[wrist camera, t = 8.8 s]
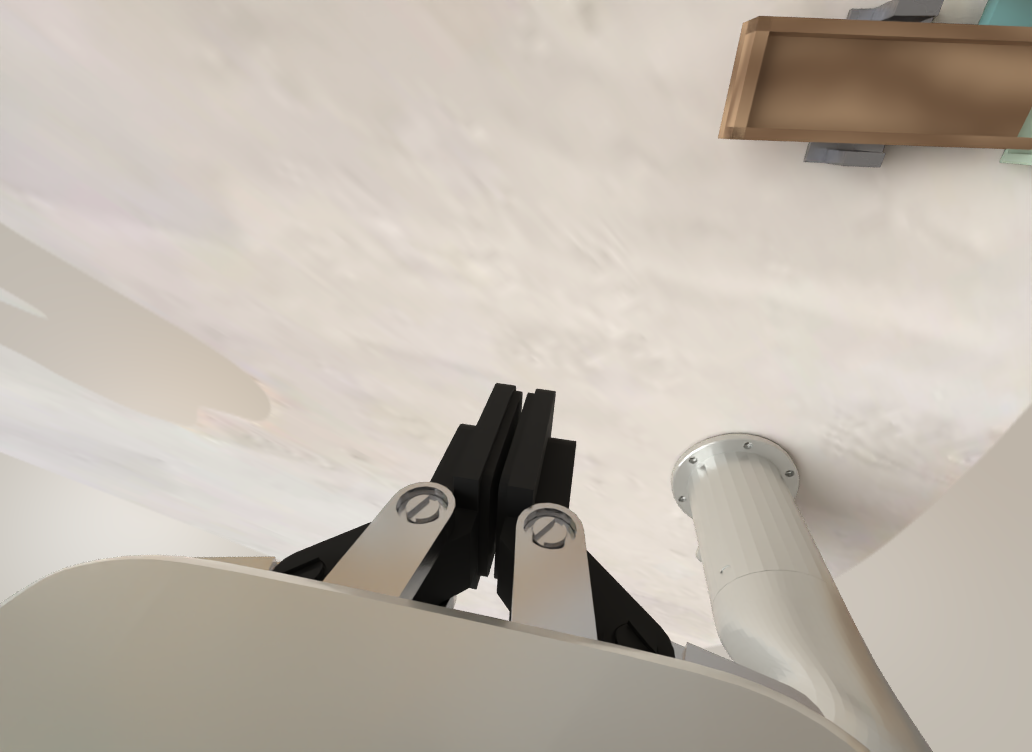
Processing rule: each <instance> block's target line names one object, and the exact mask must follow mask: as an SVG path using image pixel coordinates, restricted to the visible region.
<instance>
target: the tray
mask: <svg viewBox="0 0 1032 752" xmlns="http://www.w3.org/2000/svg"><path fill="white" fill-rule="evenodd" d="M1017 137H1027V138H1032V108H1031V110H1030V112H1029V114H1028V116H1027V118H1026V120H1025V122H1024V124H1023V126H1022V128H1021V130H1020V132H1019V134H1018V136H1017ZM1000 163H1012V164H1023V165H1032V150H1022V149H1006V150H1005V152H1004V154H1003V156H1002V158H1001V160H1000Z"/></svg>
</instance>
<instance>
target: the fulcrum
mask: <svg viewBox="0 0 1032 752" xmlns="http://www.w3.org/2000/svg"><path fill="white" fill-rule="evenodd" d="M943 1H944V0H892V1H890V2H887V3H885V4H883V5H881V6H879V7H876V8H874V9H851V10H849V13H848V17H847V19H848V20H873V21H898V22H922V23H931V22H932V19H933V17H935V16H938V14H939V12H940V9H941V6H942V4H943ZM884 146H885V145H881V144H853V143H825V142H809V144H808V148H807V151H806V154H805V158H804V161H803V162H818V163H828V164H835V165H841V166H859V167H881V164H882V161H883V159H884V156H885V153H882V152H883V149H884Z"/></svg>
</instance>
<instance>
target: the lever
mask: <svg viewBox="0 0 1032 752" xmlns="http://www.w3.org/2000/svg"><path fill="white" fill-rule="evenodd" d="M1031 108H1032V0H988V2H987V4H986V7H985V9H984V12H983V14H982V16H981V19H980V21H979V24H978V25H972V24H947V23H922V22H898V21H873V20H848V19H823V18H798V17H773V16H758V17H756V18H754V19H751V20H749V21H747V22H745V23H743V25H742V30H741V35H740V39H739V44H738V48H737V53H736V58H735V62H734V67H733V71H732V76H731V80H730V85H729V90H728V94H727V99H726V103H725V108H724V113H723V117H722V122H721V126H720V131H719V136H718V138H721V139H741V140H769V141H797V142H825V143H853V144H881V145H909V146H938V147H966V148H994V149H1022V150H1032V138H1027V137H1017V136H1018V134H1019V132H1020V130H1021V128H1022V126H1023V124H1024V122H1025V120H1026V118H1027V116H1028V114H1029V112H1030V110H1031Z"/></svg>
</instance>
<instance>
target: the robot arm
mask: <svg viewBox="0 0 1032 752" xmlns="http://www.w3.org/2000/svg"><path fill="white" fill-rule="evenodd" d="M522 395H523V394H522V392H520V391H516V386H514V385H507V384H500V383H496V384H495V386H494V388H493V391H492V393H491V395H490V397H489V399H488V401H487V404H486V406H485V408H484V410H483V412H482V414H481V417H480V419H479V421H478V423H477V425H476V426H474V425H467V424H460V426H459V427H458V429H457V431H456V433H455V435H454V437H453V439H452V440H451V442H450V444H449V446H448V448H447V450H446V452H445V454H444V456H443V458H442V460H441V462H440V464H439V466H438V467H437V469H436V471H435V473H434V475H433V477H432V479H431V481H430V482H418V483H415V484H411V485H408V486H406V487H404V488H402V489H401V490H399V491H398V492H397V493H396V494H395V495H394V496H393V497H392V498H391V500H390V501H389V502H388V503H387V504H386V506H385V507H384V508H383V509H382V510H381V512H380V513H379V514H378V515H377V516H376V518H375V519H374V520H373V521H372V522H370V523H367V524H365V525H362V526H360V527H358V528H355V529H353V530H350V531H348V532H345V533H343V534H340V535H338V536H335V537H333V538H330V539H328V540H325V541H323V542H321V543H318V544H316V545H313V546H311V547H308V548H306V549H303V550H301V551H298V552H296V553H294V554H292V555H290V556H288V557H287V558H285V559H284V560H283V561H281V562H276V558H275V557H197V558H196V557H194V558H193V557H192V558H191V557H184V556H168V555H134V556H121V557H113V558H106V559H98V560H94V561H89V562H84V563H80V564H77V565H73V566H70V567H66V568H63V569H61V570H58V571H56V572H53V573H51V574H48V575H47V576H45V577H43V578H41V579H39V580H37V581H35V582H33V583H31V584H30V585H28V586H26V587H25V588H23V589H21V590H20V591H18V592H17V593H15V594H13V595H12V596H10V597H9V598H7V599H6V600H4V601H3V602H1V603H0V752H933V751H932V750H931V748H930V747H929V745H928V744H927V742H926V741H925V739H924V738H923V736H922V735H921V734H920V732H919V730H918V729H917V727H916V726H915V724H914V723H913V721H912V720H911V718H910V717H909V715H908V714H907V712H906V711H905V710H904V708H903V706H902V705H901V703H900V702H899V700H898V699H897V697H896V696H895V694H894V692H893V691H892V689H891V687H890V686H889V684H888V682H887V681H886V679H885V678H884V676H883V674H882V673H881V671H880V669H879V668H878V666H877V665H876V663H875V661H874V659H873V657H872V655H871V653H870V651H869V649H868V648H867V646H866V644H865V642H864V640H863V638H862V636H861V635H860V633H859V631H858V629H857V627H856V625H855V623H854V621H853V619H852V617H851V615H850V613H849V611H848V609H847V607H846V605H845V603H844V601H843V599H842V597H841V595H840V593H839V591H838V589H837V587H836V585H835V583H834V581H833V579H832V577H831V575H830V572H829V570H828V568H827V566H826V564H825V562H824V560H823V558H822V556H821V554H820V552H819V550H818V548H817V546H816V544H815V542H814V540H813V538H812V536H811V534H810V532H809V530H808V528H807V526H806V524H805V522H804V520H803V518H802V516H801V514H800V512H799V509H798V507H797V505H796V503H795V501H794V499H795V497H796V495H797V492H798V489H799V474H798V471H797V468H796V466H795V464H794V462H793V460H792V459H791V457H790V456H789V455H788V453H787V452H786V451H785V450H784V449H782V448H781V447H780V446H779V445H777V444H775V443H774V442H772V441H770V440H768V439H765V438H762V437H759V436H754V435H748V434H726V435H719V436H716V437H712V438H709V439H706V440H704V441H702V442H699V443H697V444H696V445H694V446H693V447H691V448H690V449H688V450H687V451H686V452H685V453H684V454H683V455H682V456H681V457H680V458H679V460H678V461H677V463H676V464H675V467H674V469H673V472H672V477H671V486H672V492H673V496H674V499H675V501H676V503H677V504H678V506H679V507H680V508H681V510H682V511H683V512H684V513H685V514H687V515H688V516H689V517H691V518H692V519H693V521H694V526H695V531H696V535H697V540H698V548H697V551H696V557H697V559H698V560H699V561H700V562H702V564H703V569H704V574H705V578H706V583H707V588H708V593H709V598H710V602H711V607H712V612H713V617H714V622H715V626H716V630H717V633H718V636H719V638H720V641H721V643H722V645H723V647H724V648H725V650H726V651H727V653H728V654H729V656H730V657H731V659H732V660H733V661H734V662H733V661H730V660H728V659H725V658H723V657H721V656H719V655H716V654H714V653H711V652H709V651H707V650H704V649H702V648H700V647H697V646H695V645H693V644H690V643H688V642H687V644H686V647H683V646H681V645H679V644H676V643H674V642H672V641H670V639H669V637H668V636H667V634H666V633H665V632H664V630H663V629H662V628H661V626H660V625H659V624H658V623H657V622H656V621H655V620H654V619H653V618H652V617H651V616H650V615H649V614H648V613H647V612H646V611H645V610H644V609H643V608H642V607H641V606H640V605H639V604H638V603H637V602H636V601H635V600H634V599H633V598H632V597H631V595H630V594H629V593H628V592H627V591H626V590H625V589H624V588H623V587H622V586H621V585H620V584H619V583H618V582H617V581H616V580H615V579H614V578H613V577H612V576H611V575H610V574H609V573H608V572H607V571H606V570H605V569H604V568H603V567H602V566H601V564H600V563H599V562H598V561H597V560H596V559H595V558H594V557H593V556H592V555H591V554H590V553H589V552H588V551H587V550H586V542H585V534H584V528H583V525H582V522H581V521H580V519H579V518H578V517H577V515H576V514H575V513H573V512H572V511H571V510H569V502H570V493H571V484H572V476H573V467H574V458H575V450H576V441H570V440H564V439H557V438H551V431H552V422H553V413H554V404H555V395H556V391H550V390H543V389H536V391H535V394H534V393H528V394H527V397H526V400H525V403H524V406H523V409H522ZM521 410H522V412H521ZM494 554H495V568H494V578H496V579H498V581H497V594H498V595H499V597H500V598H501V600H502V601H503V602H504V604H505V605H506V607H507V608H508V610H509V611H510V613H509V621H507V620H502V619H498V618H493V617H488V616H484V615H479V614H474V613H469V612H465V611H460V610H455V609H453V608H454V605H455V602H456V595H457V594H459V593H461V592H463V591H464V590H466V589H468V588H472V589H477V586H478V582H479V579H480V576H486V577H488V575H489V572H490V569H491V565H492V561H493V558H494Z"/></svg>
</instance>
